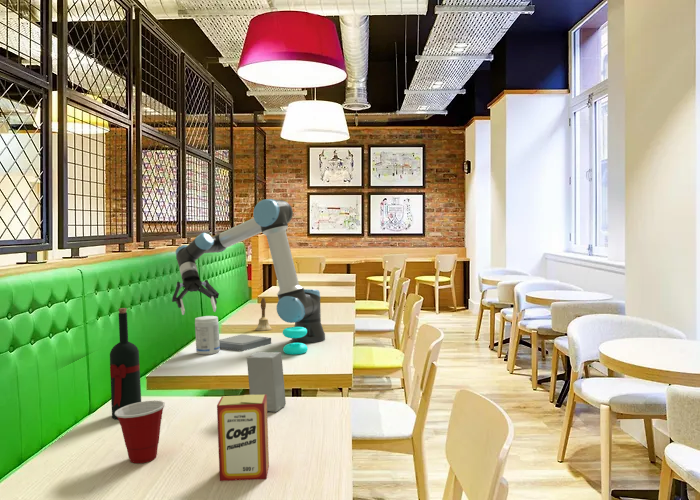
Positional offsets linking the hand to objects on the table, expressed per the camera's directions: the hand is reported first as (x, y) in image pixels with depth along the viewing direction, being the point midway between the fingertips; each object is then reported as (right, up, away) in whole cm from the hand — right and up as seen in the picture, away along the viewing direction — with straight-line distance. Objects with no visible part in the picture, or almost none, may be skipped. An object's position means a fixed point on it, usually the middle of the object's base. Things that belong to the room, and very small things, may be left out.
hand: (199, 311), depth 258 cm
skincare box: (+41, -19, -88) cm, 99 cm away
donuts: (+42, -16, -12) cm, 47 cm away
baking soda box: (+43, -21, -132) cm, 140 cm away
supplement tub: (+6, -17, -8) cm, 19 cm away
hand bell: (+21, -14, +45) cm, 52 cm away
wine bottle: (+2, -20, -91) cm, 94 cm away
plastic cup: (+18, -21, -122) cm, 125 cm away
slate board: (+17, -15, +6) cm, 24 cm away
